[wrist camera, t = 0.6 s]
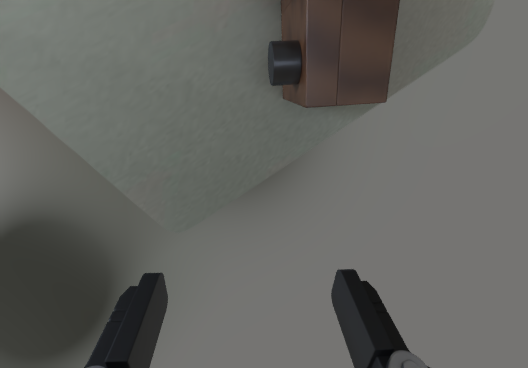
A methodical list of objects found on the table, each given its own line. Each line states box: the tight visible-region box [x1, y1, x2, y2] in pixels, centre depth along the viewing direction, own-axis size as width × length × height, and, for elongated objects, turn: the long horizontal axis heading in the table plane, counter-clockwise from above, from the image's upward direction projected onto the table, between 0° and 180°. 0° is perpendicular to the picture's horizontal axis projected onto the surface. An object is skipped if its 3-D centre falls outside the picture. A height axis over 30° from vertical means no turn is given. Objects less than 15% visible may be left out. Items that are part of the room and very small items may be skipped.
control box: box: [268, 0, 400, 108], centre depth 26 cm, size 16×11×12 cm
